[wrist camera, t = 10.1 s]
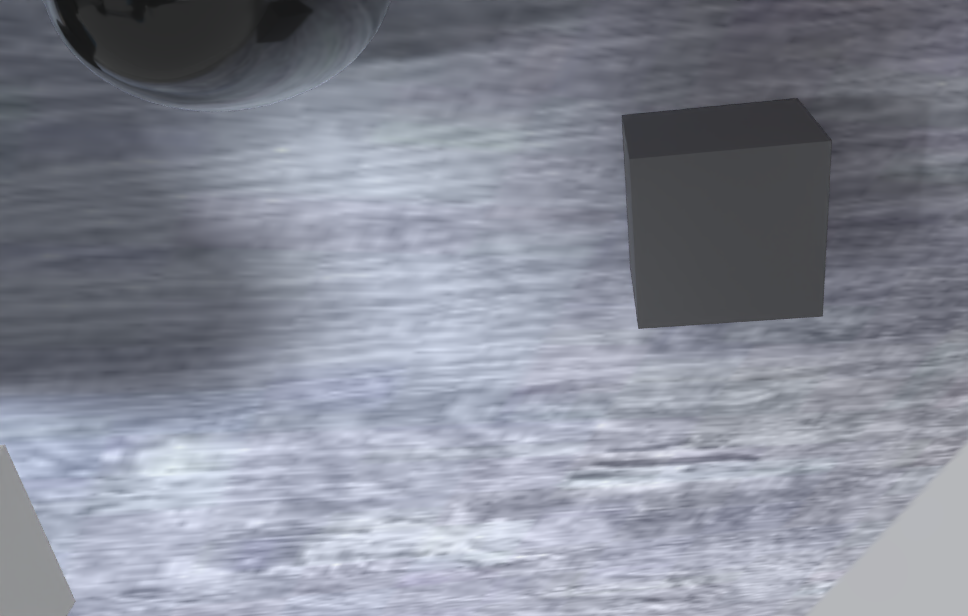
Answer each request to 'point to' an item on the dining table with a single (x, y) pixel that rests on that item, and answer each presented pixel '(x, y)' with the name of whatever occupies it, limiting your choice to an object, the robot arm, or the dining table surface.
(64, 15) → the pump dispenser
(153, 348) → the dining table surface
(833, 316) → the dining table surface
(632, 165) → the block
